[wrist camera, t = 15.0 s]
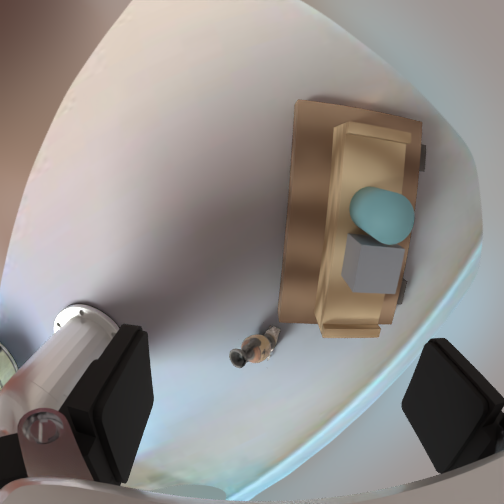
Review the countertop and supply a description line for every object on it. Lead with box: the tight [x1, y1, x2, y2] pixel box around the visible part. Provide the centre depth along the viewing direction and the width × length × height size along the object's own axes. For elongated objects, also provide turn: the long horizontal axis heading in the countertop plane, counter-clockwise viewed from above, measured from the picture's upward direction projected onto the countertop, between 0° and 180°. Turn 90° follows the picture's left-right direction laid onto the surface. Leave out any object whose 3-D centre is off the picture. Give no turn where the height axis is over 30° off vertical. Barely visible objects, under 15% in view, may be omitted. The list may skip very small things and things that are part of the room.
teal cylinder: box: [349, 187, 414, 245], centre depth 24 cm, size 4×4×5 cm
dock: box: [278, 100, 426, 324], centre depth 33 cm, size 24×15×3 cm, turn 176°
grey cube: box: [341, 233, 405, 294], centre depth 26 cm, size 4×4×4 cm
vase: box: [229, 322, 281, 368], centre depth 36 cm, size 5×5×6 cm
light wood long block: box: [314, 121, 411, 338], centre depth 29 cm, size 20×6×6 cm, turn 177°
